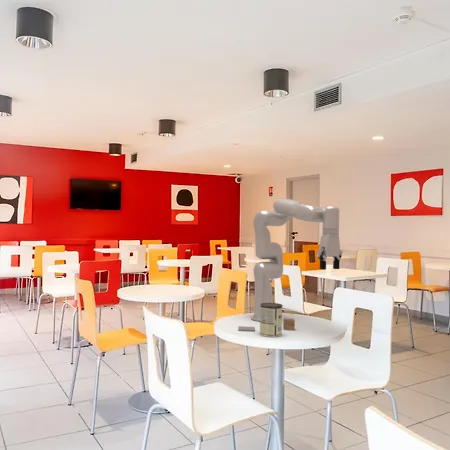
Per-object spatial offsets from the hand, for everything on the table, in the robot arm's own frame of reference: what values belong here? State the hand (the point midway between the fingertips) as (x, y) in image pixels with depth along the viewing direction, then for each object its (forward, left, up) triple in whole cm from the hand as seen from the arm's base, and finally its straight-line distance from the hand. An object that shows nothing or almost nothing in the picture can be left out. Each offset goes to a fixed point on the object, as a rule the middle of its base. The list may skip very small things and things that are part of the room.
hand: (329, 269), depth 211 cm
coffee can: (+3, -27, -31) cm, 41 cm away
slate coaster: (-6, -38, -31) cm, 50 cm away
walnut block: (-11, -17, -31) cm, 37 cm away
